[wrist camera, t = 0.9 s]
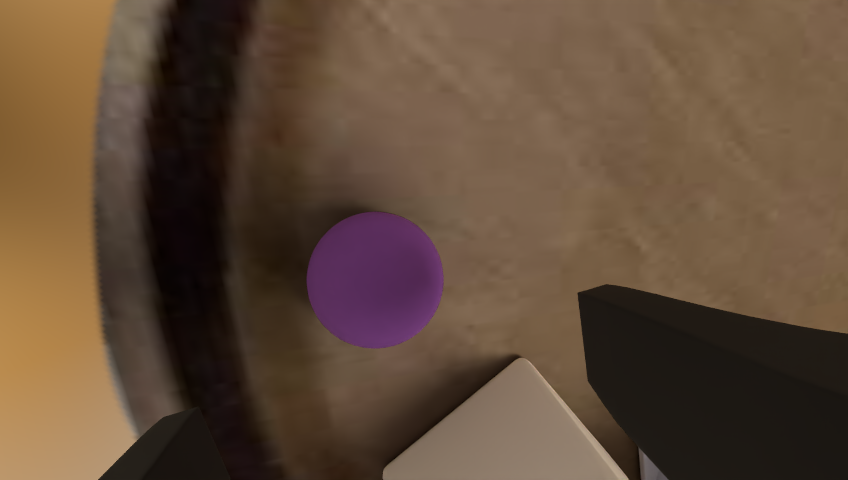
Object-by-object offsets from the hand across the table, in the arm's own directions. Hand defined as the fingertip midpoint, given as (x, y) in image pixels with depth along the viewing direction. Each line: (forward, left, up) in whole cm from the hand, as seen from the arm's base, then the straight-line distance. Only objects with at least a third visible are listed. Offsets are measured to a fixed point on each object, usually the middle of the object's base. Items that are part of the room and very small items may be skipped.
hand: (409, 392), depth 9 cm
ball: (0, 0, -6) cm, 6 cm away
